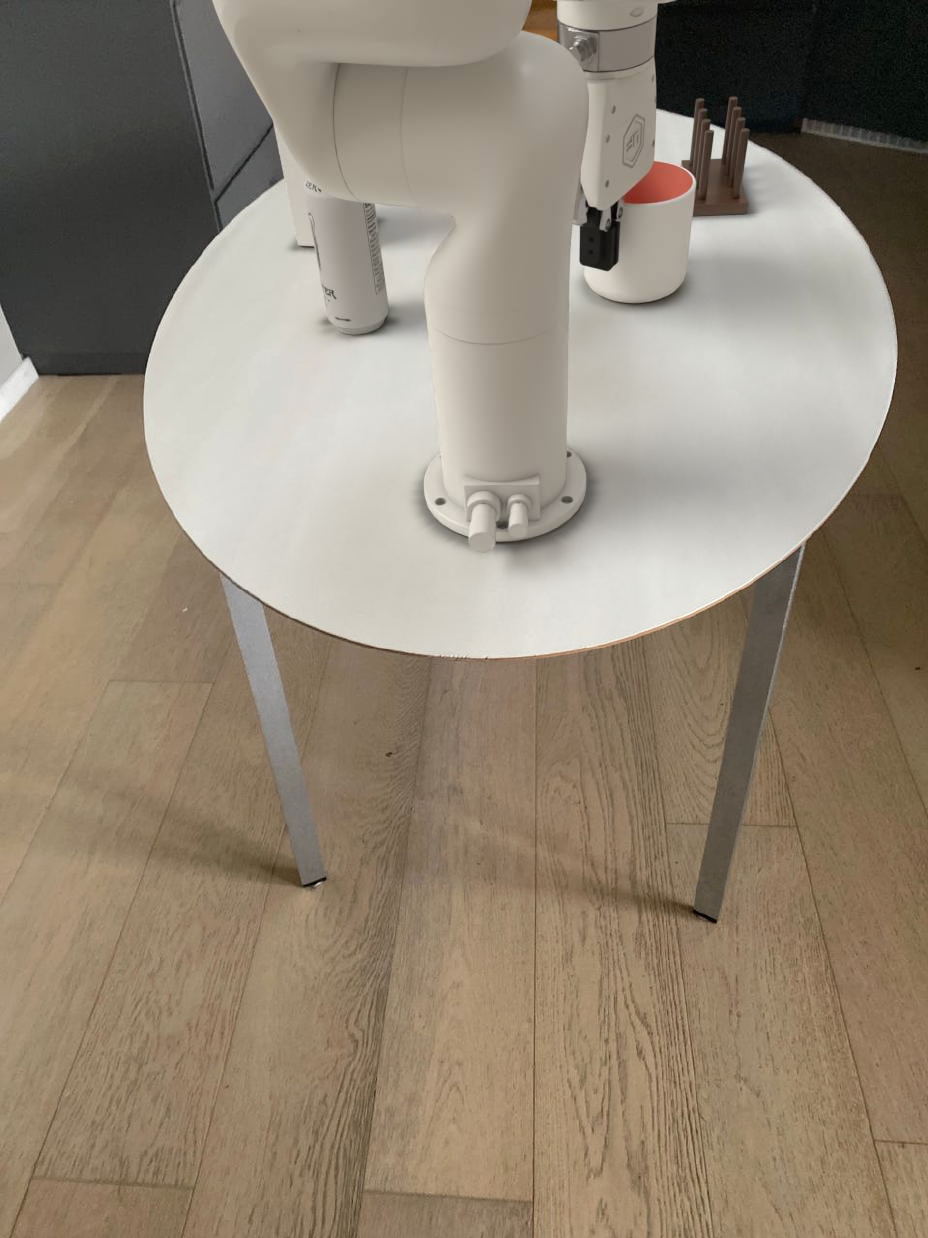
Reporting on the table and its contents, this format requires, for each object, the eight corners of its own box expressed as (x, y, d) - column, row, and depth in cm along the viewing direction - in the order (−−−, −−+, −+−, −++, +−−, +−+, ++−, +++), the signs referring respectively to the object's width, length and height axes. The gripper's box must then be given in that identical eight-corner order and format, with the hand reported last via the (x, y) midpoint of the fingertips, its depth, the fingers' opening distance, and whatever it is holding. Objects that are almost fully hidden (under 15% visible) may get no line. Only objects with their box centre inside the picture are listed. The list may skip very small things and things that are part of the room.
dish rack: (747, 213, 103) (759, 134, 97) (690, 215, 104) (699, 137, 98) (732, 168, 111) (742, 92, 105) (680, 170, 112) (687, 94, 106)
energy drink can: (329, 309, 95) (300, 154, 84) (388, 302, 95) (367, 146, 84) (329, 340, 91) (298, 182, 80) (391, 333, 91) (369, 174, 80)
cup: (568, 298, 93) (570, 196, 86) (603, 253, 99) (607, 153, 92) (667, 316, 90) (677, 211, 83) (697, 267, 96) (709, 165, 89)
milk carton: (377, 220, 108) (352, 31, 94) (358, 250, 103) (329, 56, 90) (318, 218, 109) (285, 31, 96) (297, 247, 105) (259, 55, 91)
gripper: (602, 82, 68) (595, 314, 82) (692, 15, 75) (672, 236, 89) (513, 68, 71) (521, 293, 85) (608, 4, 79) (601, 220, 92)
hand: (598, 263), depth 87 cm, fingers closed
